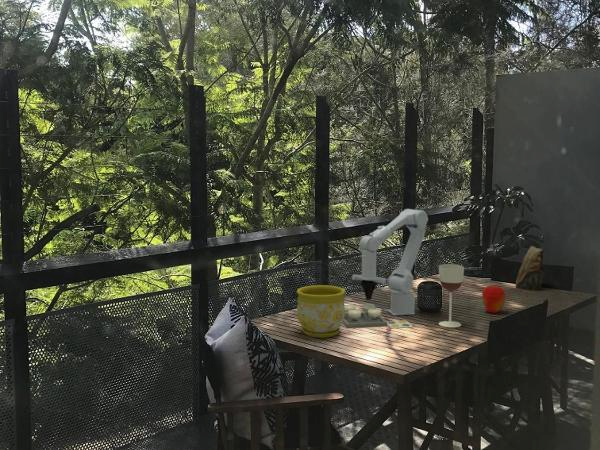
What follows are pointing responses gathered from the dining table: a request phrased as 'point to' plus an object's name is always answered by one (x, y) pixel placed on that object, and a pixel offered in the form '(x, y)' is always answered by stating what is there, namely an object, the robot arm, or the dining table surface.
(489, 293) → the apple
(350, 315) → the button
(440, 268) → the wineglass
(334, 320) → the flowerpot
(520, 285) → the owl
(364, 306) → the button
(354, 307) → the button
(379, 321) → the button board
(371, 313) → the button
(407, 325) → the card
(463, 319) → the dining table surface
